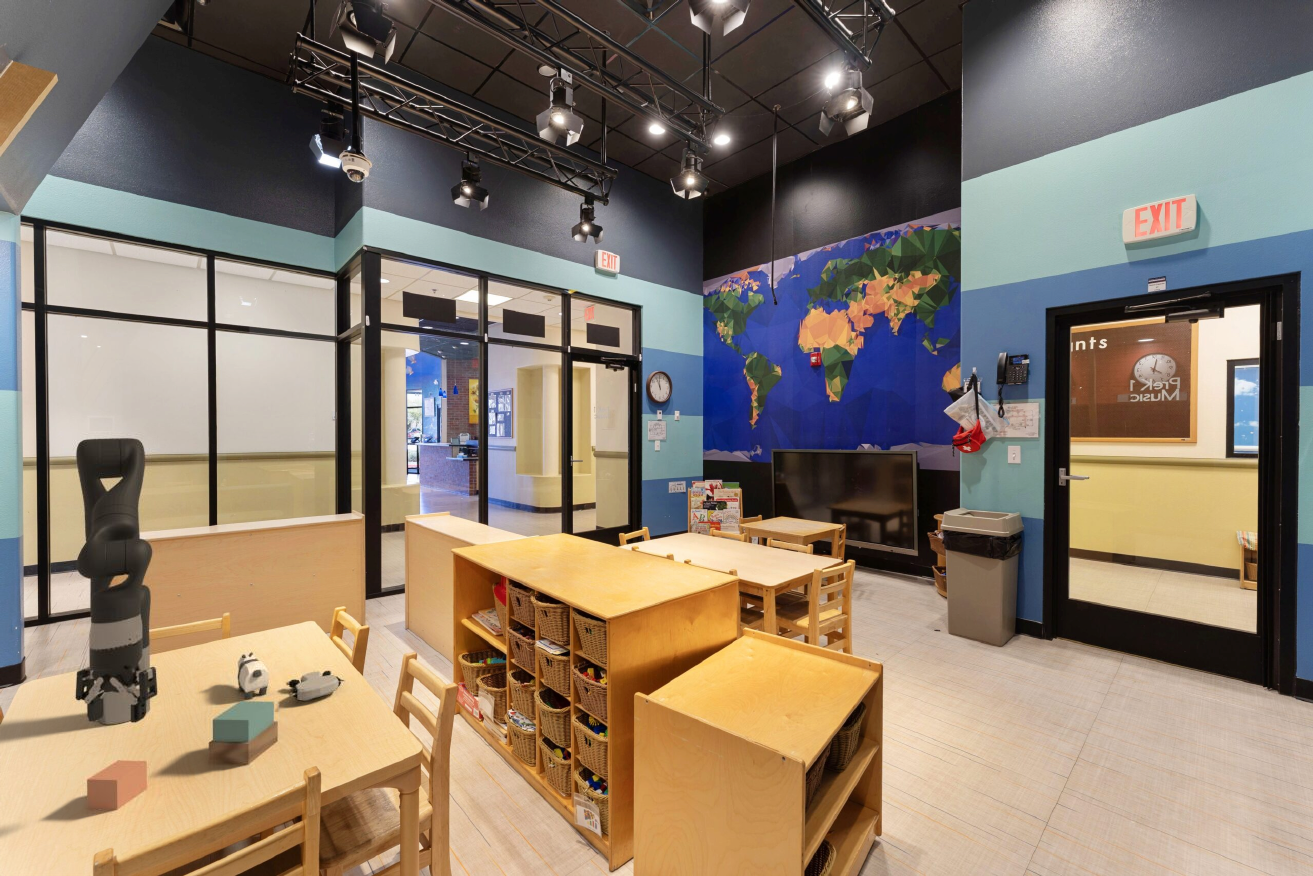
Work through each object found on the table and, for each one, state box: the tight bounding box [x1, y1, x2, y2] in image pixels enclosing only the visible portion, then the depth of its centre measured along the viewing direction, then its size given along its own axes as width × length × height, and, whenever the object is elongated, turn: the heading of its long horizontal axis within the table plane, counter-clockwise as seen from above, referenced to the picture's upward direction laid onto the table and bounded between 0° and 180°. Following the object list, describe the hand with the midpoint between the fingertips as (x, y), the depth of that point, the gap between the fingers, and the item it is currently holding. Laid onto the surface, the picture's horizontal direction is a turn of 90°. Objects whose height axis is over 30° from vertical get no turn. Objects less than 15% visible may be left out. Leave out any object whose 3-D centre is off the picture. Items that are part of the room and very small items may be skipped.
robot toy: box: [285, 670, 345, 702], centre depth 152 cm, size 12×4×15 cm
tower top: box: [212, 700, 275, 742], centre depth 124 cm, size 8×8×5 cm
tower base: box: [208, 720, 279, 766], centre depth 124 cm, size 9×9×5 cm
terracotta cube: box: [86, 759, 148, 811], centre depth 108 cm, size 6×6×6 cm
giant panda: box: [237, 652, 270, 701], centre depth 153 cm, size 15×6×10 cm, turn 50°
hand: (117, 720), depth 108 cm, fingers open, 8 cm apart
